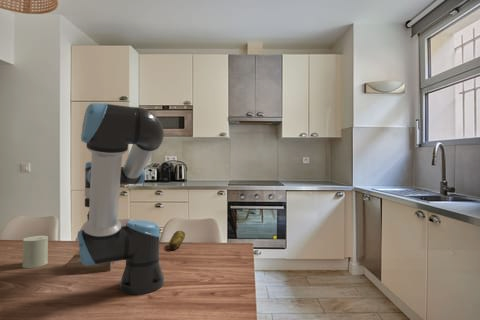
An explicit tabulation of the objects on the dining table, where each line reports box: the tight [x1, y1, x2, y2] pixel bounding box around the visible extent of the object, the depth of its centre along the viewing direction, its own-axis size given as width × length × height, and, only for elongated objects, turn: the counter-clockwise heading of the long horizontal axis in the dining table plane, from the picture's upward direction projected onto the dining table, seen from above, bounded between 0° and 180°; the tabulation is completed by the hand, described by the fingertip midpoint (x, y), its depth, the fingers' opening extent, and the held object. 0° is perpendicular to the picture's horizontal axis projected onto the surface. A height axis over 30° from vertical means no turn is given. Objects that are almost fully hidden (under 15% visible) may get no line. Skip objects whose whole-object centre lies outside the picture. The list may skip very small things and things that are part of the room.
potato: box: [168, 230, 186, 250], centre depth 152 cm, size 8×13×8 cm, turn 153°
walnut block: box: [66, 250, 115, 275], centre depth 123 cm, size 16×16×5 cm
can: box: [21, 235, 49, 269], centre depth 125 cm, size 9×9×12 cm
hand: (93, 250), depth 124 cm, fingers closed on sage block, 5 cm apart
